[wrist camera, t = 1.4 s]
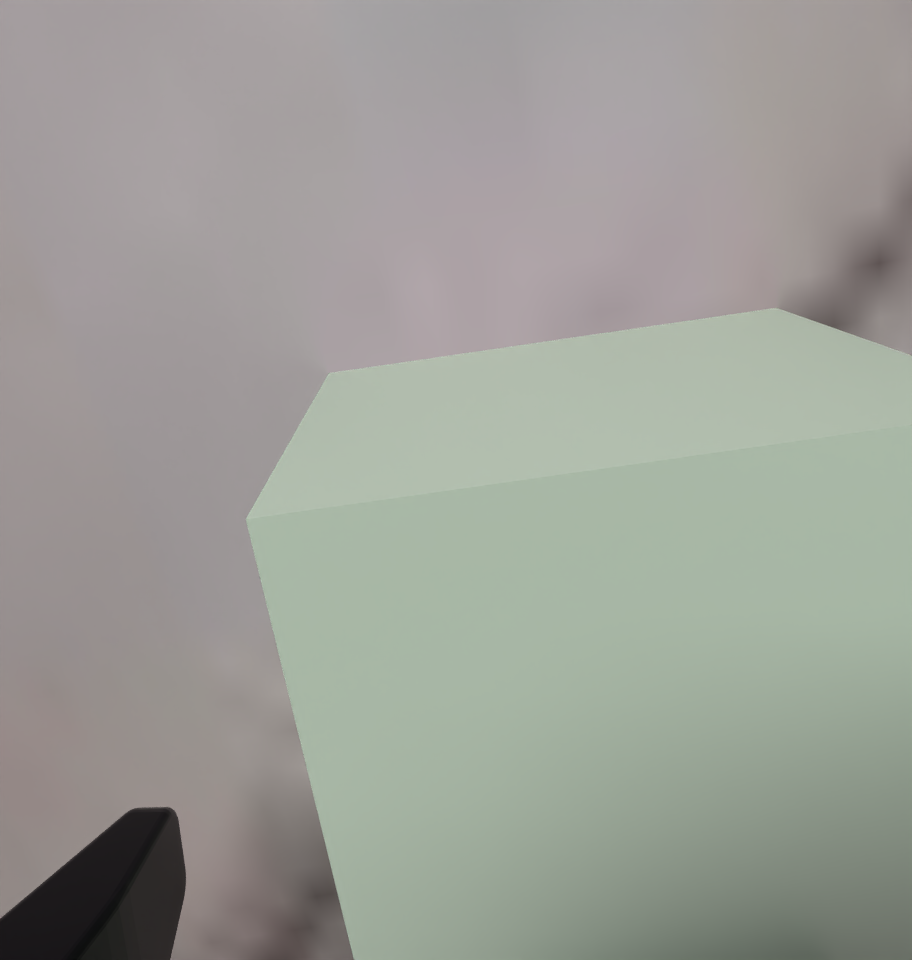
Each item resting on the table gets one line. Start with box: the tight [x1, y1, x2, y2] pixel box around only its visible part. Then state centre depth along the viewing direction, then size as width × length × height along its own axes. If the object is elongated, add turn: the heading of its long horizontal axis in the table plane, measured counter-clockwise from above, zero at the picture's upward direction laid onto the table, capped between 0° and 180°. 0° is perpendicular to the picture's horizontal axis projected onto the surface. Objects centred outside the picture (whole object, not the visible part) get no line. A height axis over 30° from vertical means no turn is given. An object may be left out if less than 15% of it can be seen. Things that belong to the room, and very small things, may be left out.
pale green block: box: [246, 308, 912, 960], centre depth 8 cm, size 5×9×5 cm, turn 8°
